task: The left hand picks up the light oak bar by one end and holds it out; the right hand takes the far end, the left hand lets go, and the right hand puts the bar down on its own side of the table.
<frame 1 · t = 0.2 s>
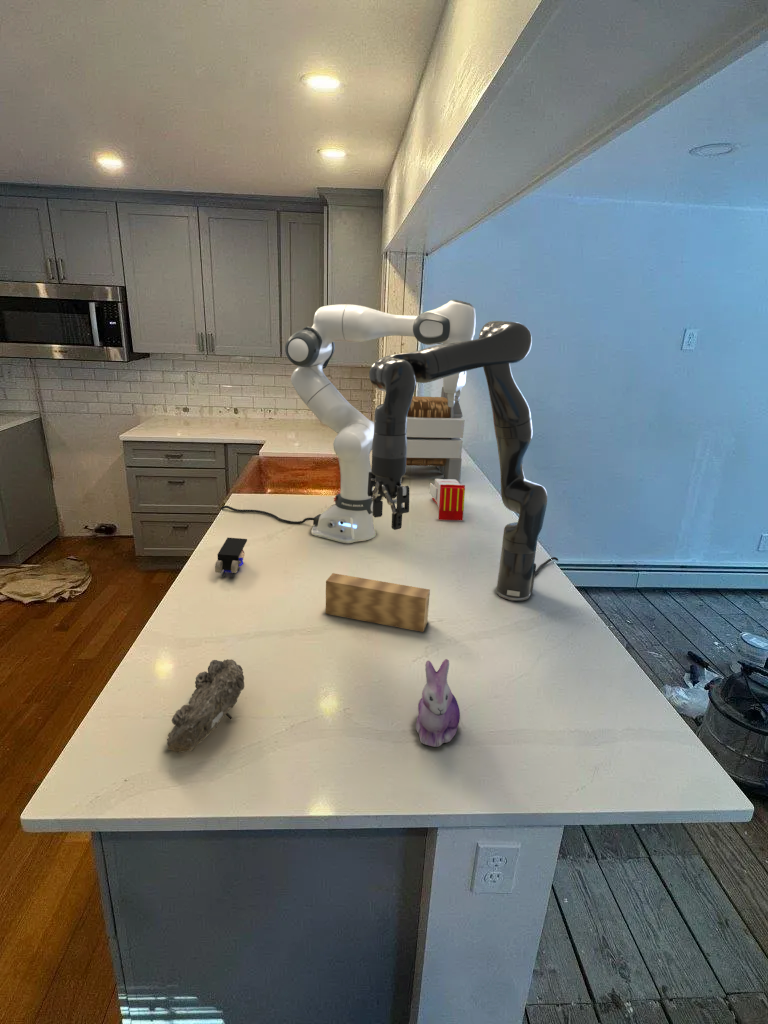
left hand: (453, 404, 174), 48 cm above the counter, tool pointing down, fingers open, 8 cm apart
right hand: (386, 522, 129), 29 cm above the counter, tool pointing down, fingers open, 8 cm apart
transformer: (419, 473, 275), on the counter
fossil: (212, 717, 108), on the counter
figurine: (437, 731, 107), on the counter
figurine character: (232, 569, 168), on the counter
toy: (445, 508, 227), on the counter
bar: (376, 618, 145), on the counter
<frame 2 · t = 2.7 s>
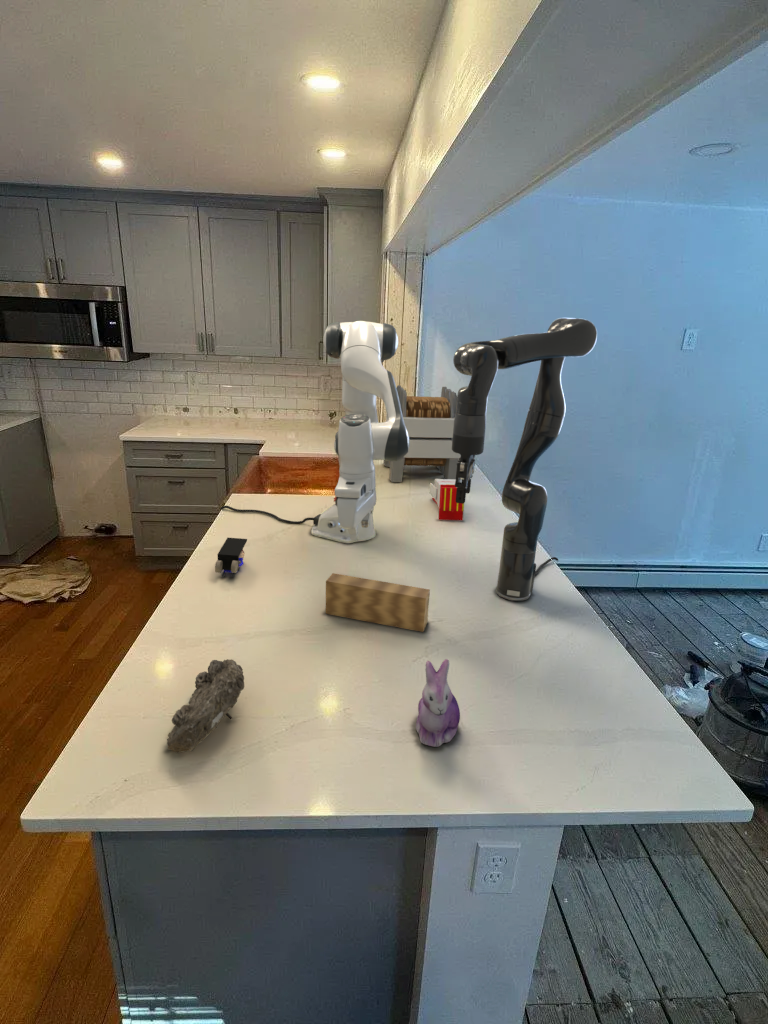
left hand: (360, 533, 145), 20 cm above the counter, tool pointing down, fingers open, 8 cm apart
right hand: (462, 497, 139), 32 cm above the counter, tool pointing down, fingers open, 8 cm apart
nothing on the counter moved.
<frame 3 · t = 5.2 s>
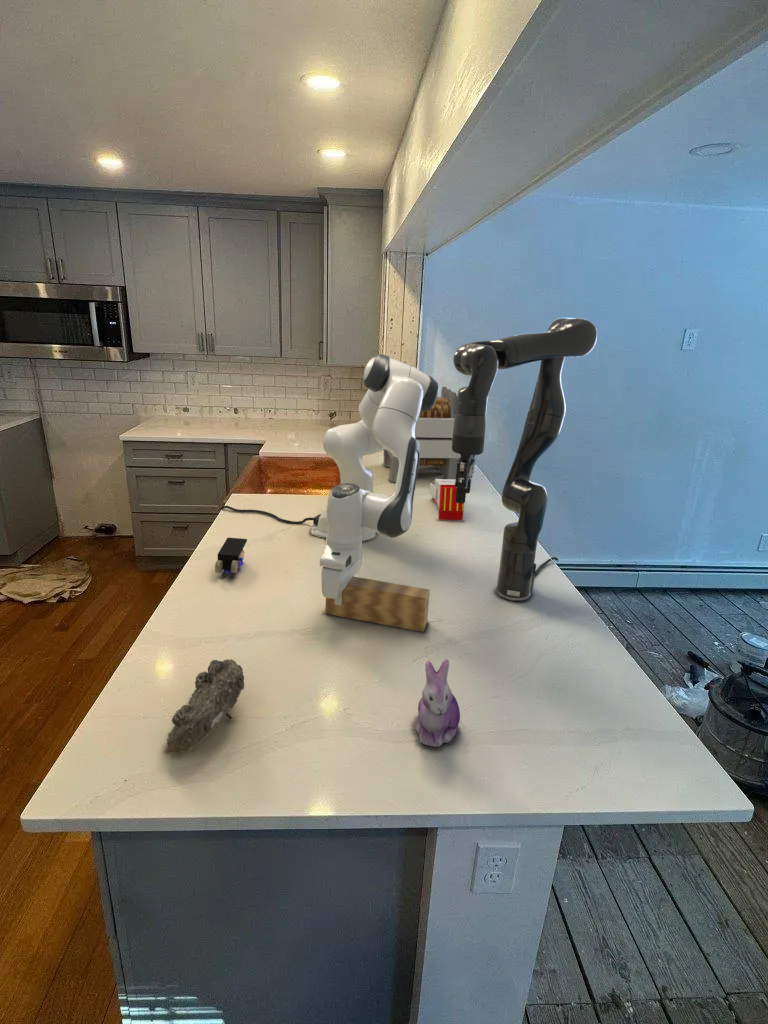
left hand: (342, 598, 146), 4 cm above the counter, tool pointing down, fingers closed on bar, 5 cm apart
right hand: (462, 497, 139), 32 cm above the counter, tool pointing down, fingers open, 8 cm apart
bar: (376, 617, 145), on the counter, touching left hand
everything else where it was.
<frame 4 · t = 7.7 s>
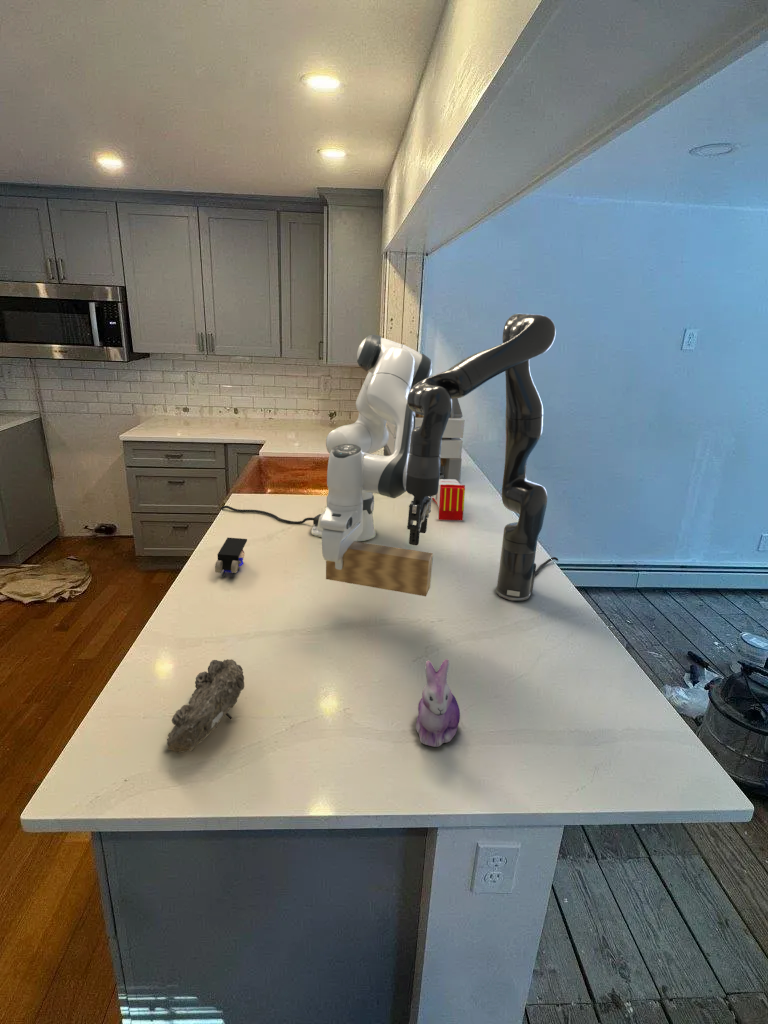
left hand: (343, 563, 143), 14 cm above the counter, tool pointing down, fingers closed on bar, 5 cm apart
right hand: (417, 538, 135), 23 cm above the counter, tool pointing down, fingers open, 8 cm apart
bar: (377, 583, 142), point 10 cm above the counter, touching left hand
everything else where it was.
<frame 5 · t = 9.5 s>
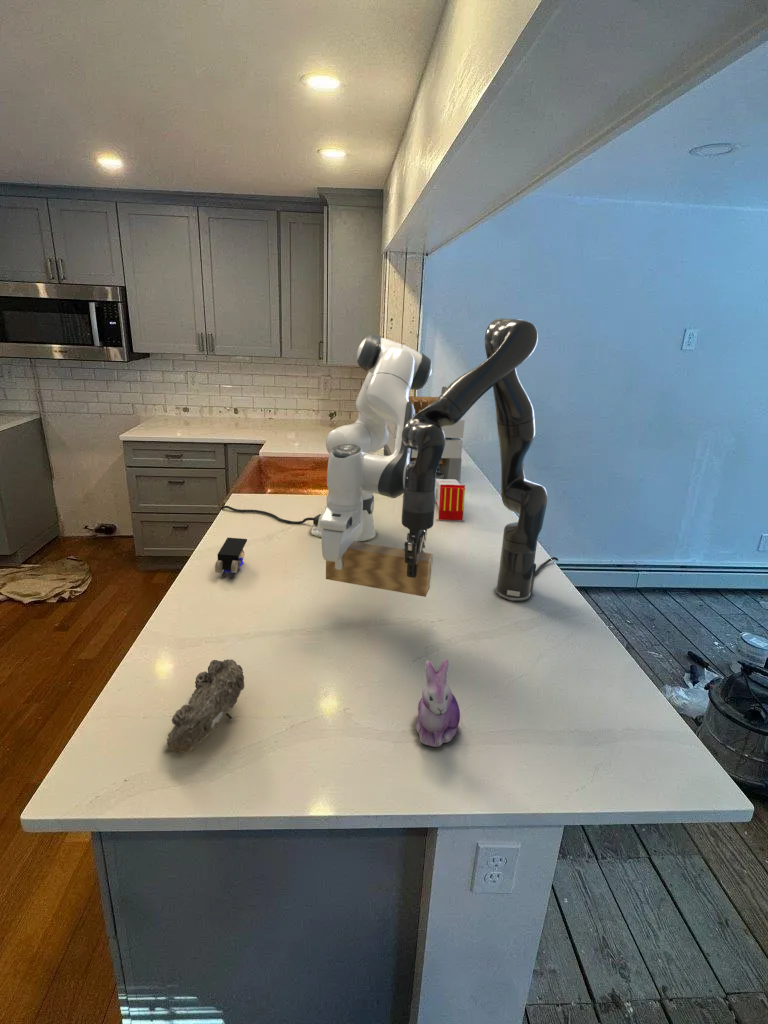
left hand: (343, 563, 143), 14 cm above the counter, tool pointing down, fingers closed on bar, 5 cm apart
right hand: (414, 571, 138), 15 cm above the counter, tool pointing down, fingers closed on bar, 5 cm apart
bar: (377, 583, 142), point 10 cm above the counter, touching left hand, right hand
everything else where it was.
when the left hand's fingers open (14 cm above the counter, at t = 10.4 s): bar stays where it is, held by the right hand.
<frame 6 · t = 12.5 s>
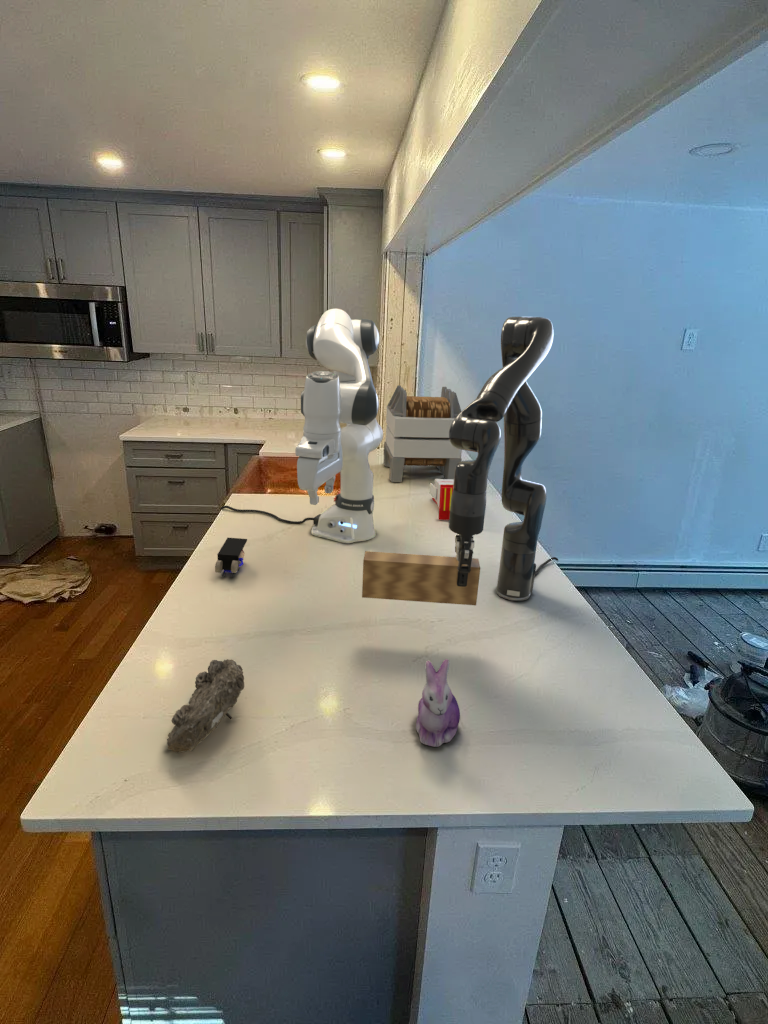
left hand: (321, 498, 139), 30 cm above the counter, tool pointing down, fingers open, 8 cm apart
right hand: (460, 579, 128), 18 cm above the counter, tool pointing down, fingers closed on bar, 5 cm apart
bar: (418, 596, 130), point 13 cm above the counter, touching right hand
everything else where it was.
when the right hand's fingers open (6 cm above the counter, at t = 15.8 s): bar drops 1 cm, on the counter.
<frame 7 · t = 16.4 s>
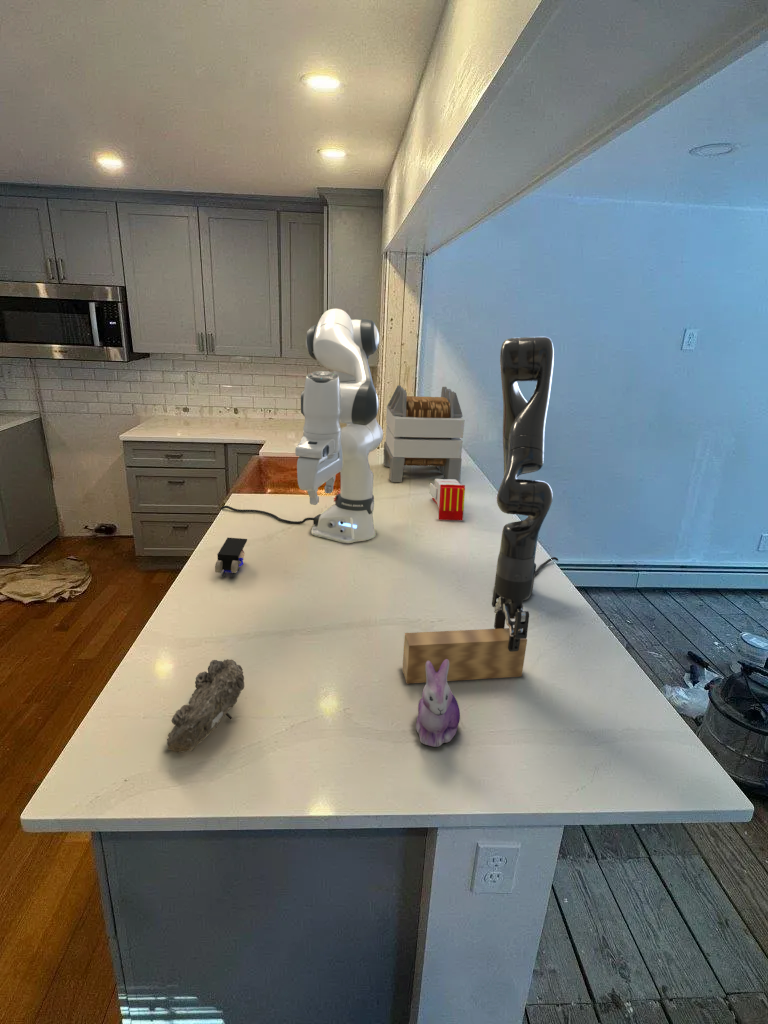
left hand: (321, 498, 139), 30 cm above the counter, tool pointing down, fingers open, 8 cm apart
right hand: (505, 639, 123), 8 cm above the counter, tool pointing down, fingers open, 8 cm apart
bar: (461, 673, 125), on the counter
everything else where it was.
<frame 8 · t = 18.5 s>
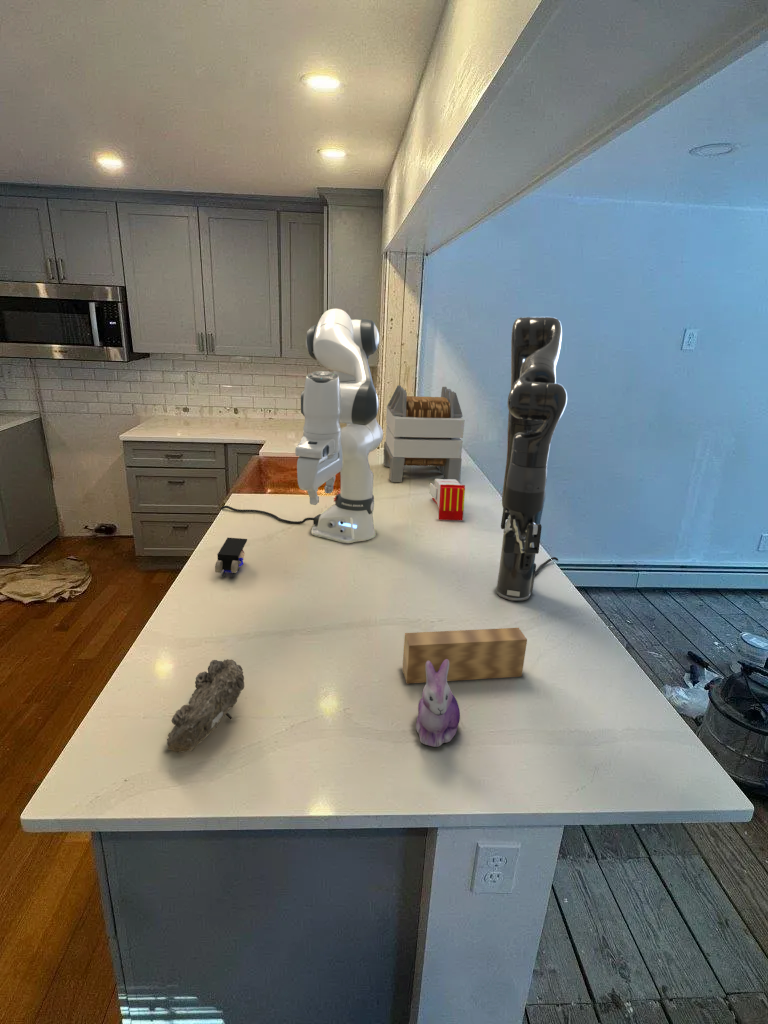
left hand: (321, 498, 139), 30 cm above the counter, tool pointing down, fingers open, 8 cm apart
right hand: (515, 560, 117), 27 cm above the counter, tool pointing down, fingers open, 8 cm apart
nothing on the counter moved.
at the end: bar inside the target area (9.0 cm from its centre), on the counter; the left hand is holding nothing; the right hand is holding nothing; bar at rest at the end (0.0 cm/s) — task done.
